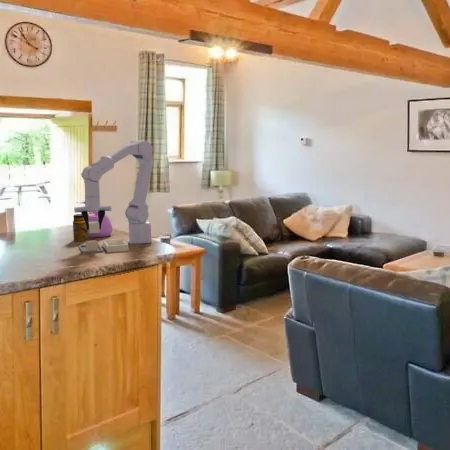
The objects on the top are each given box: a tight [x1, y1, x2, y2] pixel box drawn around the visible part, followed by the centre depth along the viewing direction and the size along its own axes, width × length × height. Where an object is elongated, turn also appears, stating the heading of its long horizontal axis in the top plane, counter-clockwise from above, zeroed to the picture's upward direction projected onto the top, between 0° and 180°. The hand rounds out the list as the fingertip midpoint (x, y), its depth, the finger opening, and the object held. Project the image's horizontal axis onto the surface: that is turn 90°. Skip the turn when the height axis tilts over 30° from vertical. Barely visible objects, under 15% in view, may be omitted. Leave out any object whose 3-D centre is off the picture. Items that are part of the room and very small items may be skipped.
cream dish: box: [102, 238, 129, 253], centre depth 212 cm, size 8×12×3 cm
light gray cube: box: [88, 221, 100, 233], centre depth 211 cm, size 4×4×4 cm
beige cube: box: [85, 239, 99, 251], centre depth 206 cm, size 4×4×4 cm
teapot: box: [87, 211, 113, 239], centre depth 241 cm, size 20×13×12 cm, turn 23°
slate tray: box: [78, 243, 105, 255], centre depth 210 cm, size 8×13×1 cm, turn 21°
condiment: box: [72, 213, 89, 243], centre depth 227 cm, size 7×8×12 cm
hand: (93, 229), depth 212 cm, fingers closed on light gray cube, 4 cm apart
